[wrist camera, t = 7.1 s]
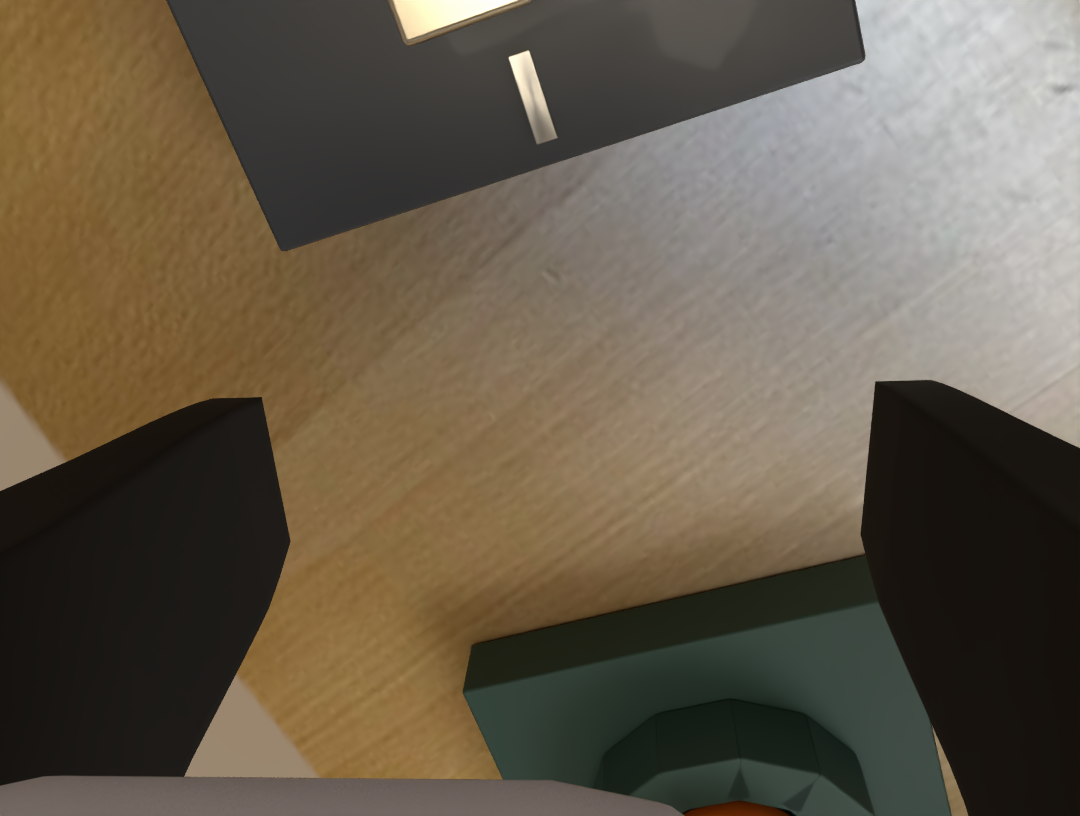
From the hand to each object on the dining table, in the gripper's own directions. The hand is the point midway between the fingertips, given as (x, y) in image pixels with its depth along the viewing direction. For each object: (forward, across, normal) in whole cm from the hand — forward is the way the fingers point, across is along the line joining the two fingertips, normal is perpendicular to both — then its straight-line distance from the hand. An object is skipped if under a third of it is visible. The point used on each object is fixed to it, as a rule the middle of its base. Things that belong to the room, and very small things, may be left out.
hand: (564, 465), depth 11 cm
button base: (+9, -3, +13) cm, 16 cm away
